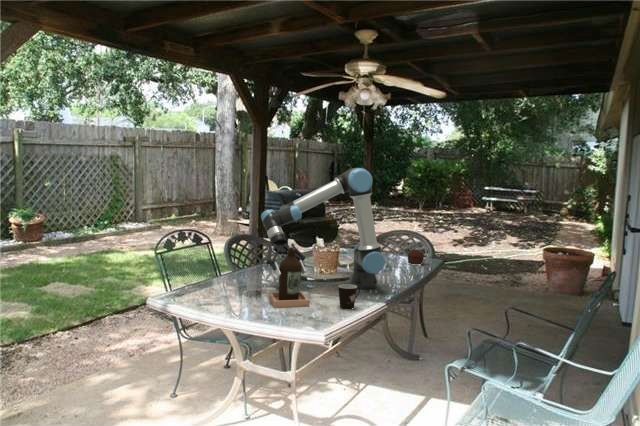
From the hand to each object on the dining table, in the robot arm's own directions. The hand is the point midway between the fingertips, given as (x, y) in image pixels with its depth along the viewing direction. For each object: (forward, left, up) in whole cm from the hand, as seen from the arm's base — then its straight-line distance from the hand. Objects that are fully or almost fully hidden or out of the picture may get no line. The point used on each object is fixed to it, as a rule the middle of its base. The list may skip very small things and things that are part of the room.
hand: (291, 274), depth 233 cm
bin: (+1, -2, -14) cm, 14 cm away
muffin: (-102, -86, -14) cm, 134 cm away
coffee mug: (-26, +10, -14) cm, 31 cm away
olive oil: (+1, -2, -13) cm, 13 cm away
